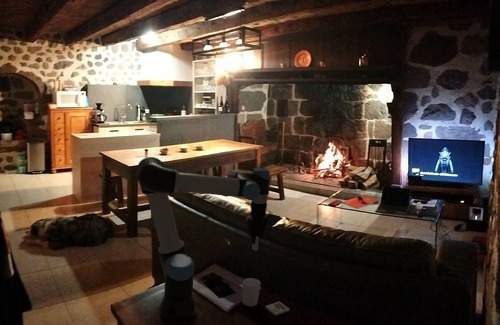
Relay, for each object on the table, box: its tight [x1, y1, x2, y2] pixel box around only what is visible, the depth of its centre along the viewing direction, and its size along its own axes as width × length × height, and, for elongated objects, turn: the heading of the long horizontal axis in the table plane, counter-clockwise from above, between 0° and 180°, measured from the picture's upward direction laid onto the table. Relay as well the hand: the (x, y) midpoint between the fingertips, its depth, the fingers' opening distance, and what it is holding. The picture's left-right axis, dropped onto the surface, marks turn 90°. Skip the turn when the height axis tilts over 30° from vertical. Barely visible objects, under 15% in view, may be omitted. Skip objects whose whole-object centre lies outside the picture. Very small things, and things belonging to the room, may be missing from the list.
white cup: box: [242, 277, 261, 307], centre depth 181 cm, size 8×8×10 cm
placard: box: [265, 301, 291, 316], centre depth 178 cm, size 7×8×1 cm
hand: (254, 249), depth 190 cm, fingers closed
